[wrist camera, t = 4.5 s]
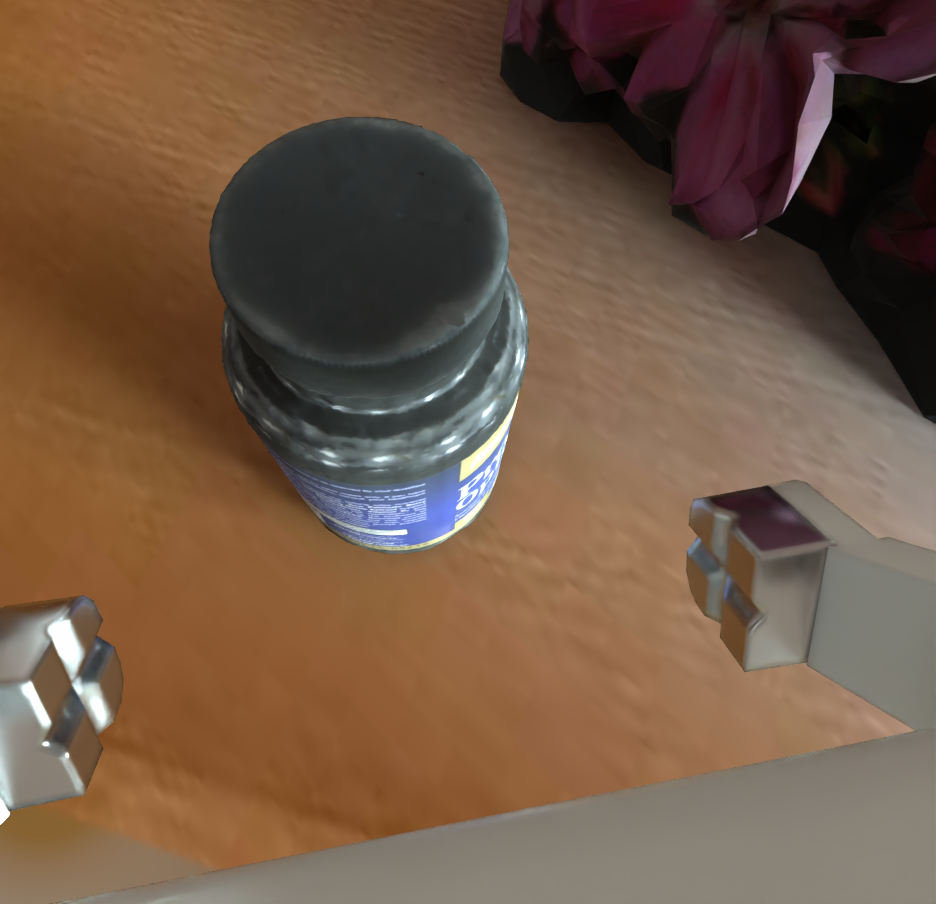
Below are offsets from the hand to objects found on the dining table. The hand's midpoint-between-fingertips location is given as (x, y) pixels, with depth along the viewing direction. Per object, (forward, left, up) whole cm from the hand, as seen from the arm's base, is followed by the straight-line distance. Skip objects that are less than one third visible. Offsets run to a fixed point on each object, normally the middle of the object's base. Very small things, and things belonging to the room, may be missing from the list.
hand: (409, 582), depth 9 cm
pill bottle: (0, +5, -11) cm, 12 cm away
